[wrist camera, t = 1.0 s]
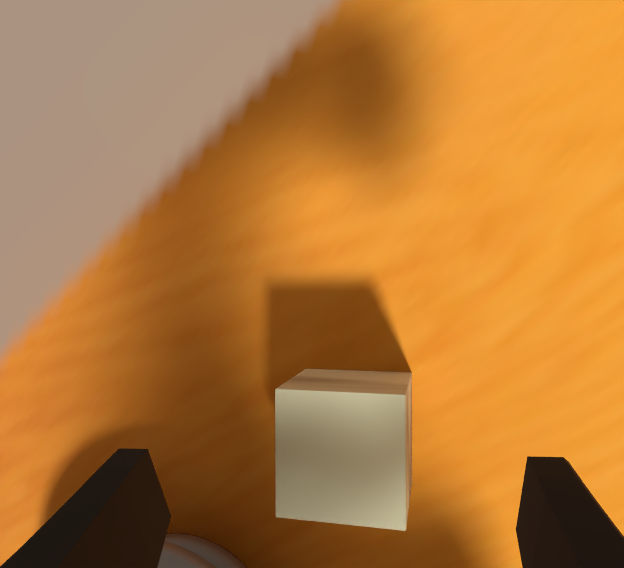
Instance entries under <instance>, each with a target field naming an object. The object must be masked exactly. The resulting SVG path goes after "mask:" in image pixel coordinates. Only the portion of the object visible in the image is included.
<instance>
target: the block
mask: <svg viewBox="0 0 624 568" xmlns="http://www.w3.org/2000/svg"><path fill="white" fill-rule="evenodd" d="M275 469H276V517H278V518H288V519H297V520H307V521H317V522H326V523H336V524H345V525H355V526H364V527H374V528H384V529H393V530H403V531H406V526H407V518H408V510H409V502H410V494H411V486H412V372H389V371H360V370H332V369H304V370H303V371H301V372H300V373H298V374H297V375H295V376H294V377H292V378H291V379H289V380H288V381H286V382H285V383H283V384H282V385H280V386H279V387H277V388H276V389H275Z"/></svg>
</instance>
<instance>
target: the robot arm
mask: <svg viewBox="0 0 624 568" xmlns="http://www.w3.org/2000/svg"><path fill="white" fill-rule="evenodd" d="M170 518H171V515H170V512H169V509H168V506H167V503H166V501H165V498H164V495H163V492H162V489H161V486H160V483H159V480H158V478H157V475H156V472H155V469H154V466H153V463H152V460H151V457H150V455H149V452H148V449H118V450H117V451H116V452H115V453H114V454H113V455H112V456H111V457H110V458H109V459H108V460H107V461H106V462H105V463H104V464H103V465H102V466H101V467H100V468H99V469H98V470H97V471H96V472H95V473H94V474H93V475H92V476H91V477H90V478H89V479H88V480H87V481H86V482H85V483H84V484H83V485H82V487H81V488H80V489H79V490H78V491H77V492H76V493H75V494H74V495H73V496H72V497H71V498H70V499H69V500H68V501H67V502H66V503H65V504H64V505H63V506H62V507H61V508H60V509H59V510H58V511H57V512H56V513H55V514H54V515H53V516H52V517H51V518H50V519H49V520H48V521H47V522H46V523H45V524H44V525H43V526H42V527H41V528H40V529H39V530H38V531H37V532H36V533H35V534H34V535H33V536H32V537H31V538H30V539H29V540H28V541H27V542H26V543H25V544H24V545H23V546H22V547H21V548H20V549H19V550H18V551H17V552H16V553H14V554H13V555H12V556H11V557H10V558H9V559H8V560H7V561H6V562H5V563H4V564H3V565H2V566H0V568H157V567H158V564H159V560H160V556H161V553H162V549H163V546H164V542H165V538H166V534H167V530H168V526H169V522H170ZM516 532H517V538H518V544H519V549H520V555H521V561H522V566H523V568H624V536H623V535H622V534H621V532H620V531H619V530H618V529H617V527H616V526H615V525H614V523H613V522H612V521H611V519H610V518H609V517H608V515H607V514H606V513H605V511H604V510H603V509H602V507H601V506H600V505H599V503H598V502H597V501H596V499H595V498H594V497H593V495H592V494H591V493H590V491H589V490H588V488H587V487H586V486H585V484H584V483H583V482H582V480H581V479H580V477H579V476H578V475H577V473H576V472H575V470H574V469H573V467H572V466H571V465H570V463H569V462H568V461H567V460H566V459H565V458H564V457H527V463H526V469H525V475H524V482H523V488H522V494H521V501H520V507H519V513H518V520H517V526H516Z"/></svg>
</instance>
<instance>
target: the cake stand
mask: <svg viewBox="0 0 624 568" xmlns="http://www.w3.org/2000/svg"><path fill="white" fill-rule="evenodd" d="M157 568H247V567H246V566H245V565H244V564H243V563H242V562H241V561H240V560H239V559H237V558H236V557H235V556H234V555H233V554H231V553H230V552H229V551H227V550H226V549H224V548H222V547H221V546H219V545H217V544H215V543H213V542H211V541H209V540H207V539H204V538H201V537H198V536H193V535H188V534H178V533H170V534H166V538H165V542H164V546H163V549H162V553H161V556H160V560H159V564H158V567H157Z"/></svg>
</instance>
